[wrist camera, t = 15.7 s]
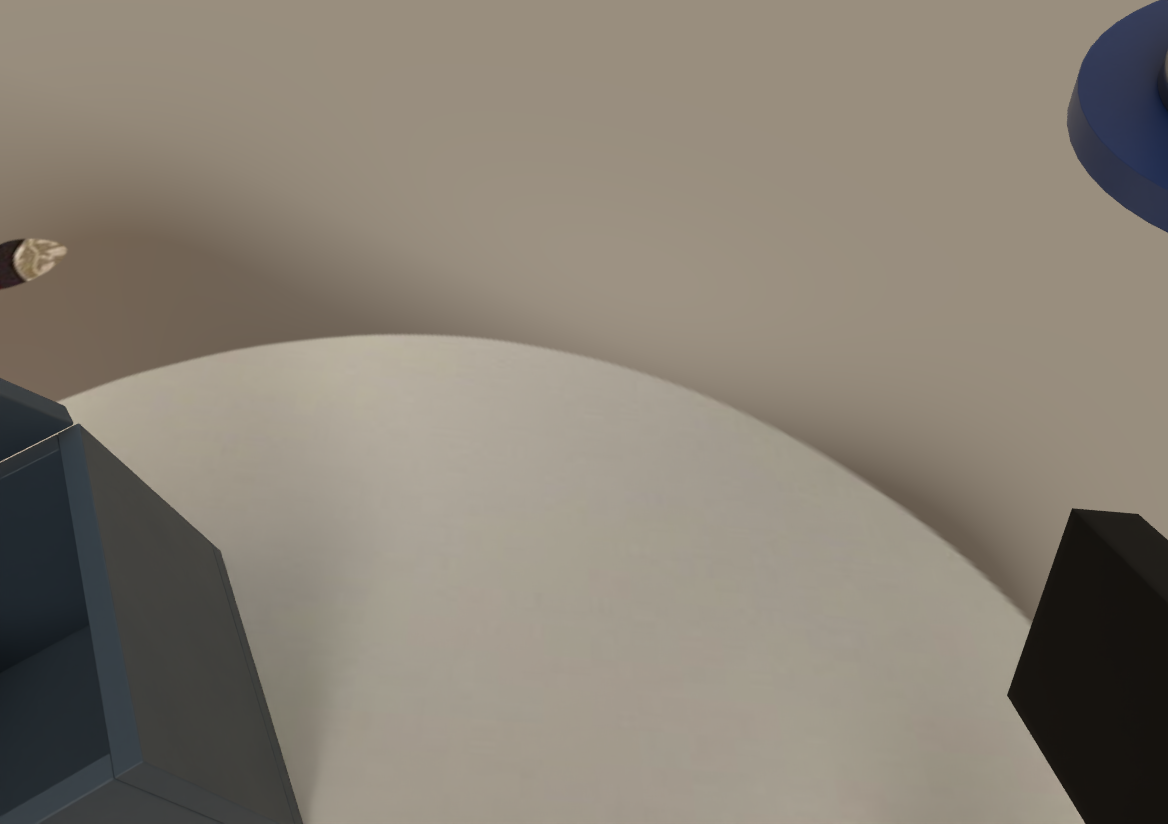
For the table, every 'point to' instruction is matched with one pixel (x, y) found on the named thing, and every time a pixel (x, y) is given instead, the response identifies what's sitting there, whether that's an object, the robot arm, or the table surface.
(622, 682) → the table surface
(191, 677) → the open box
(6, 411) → the box lid
